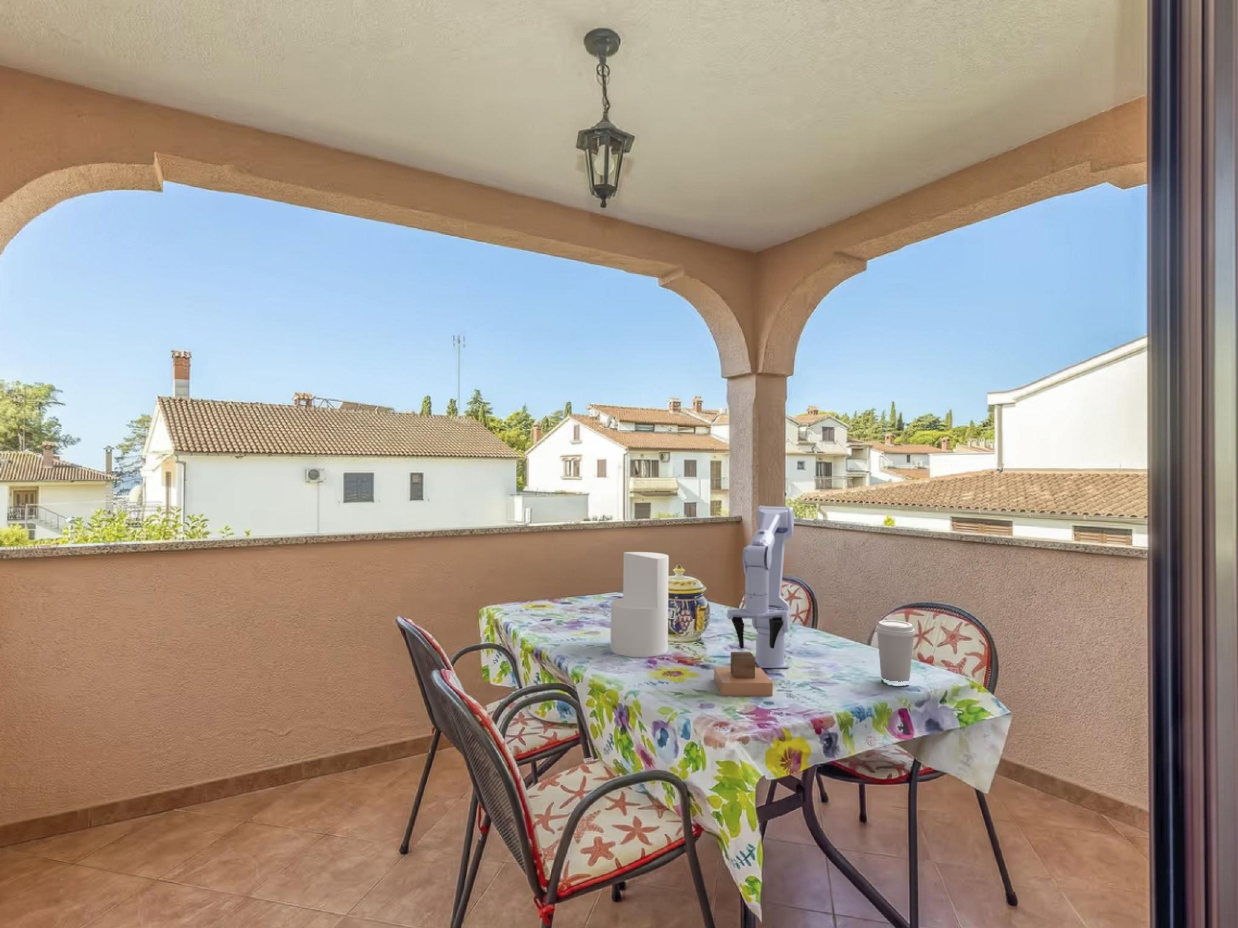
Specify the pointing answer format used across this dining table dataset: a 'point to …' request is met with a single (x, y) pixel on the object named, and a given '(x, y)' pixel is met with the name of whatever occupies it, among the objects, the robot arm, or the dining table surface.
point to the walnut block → (742, 665)
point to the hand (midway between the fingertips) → (756, 647)
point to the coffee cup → (895, 649)
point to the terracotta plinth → (743, 683)
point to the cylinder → (641, 607)
